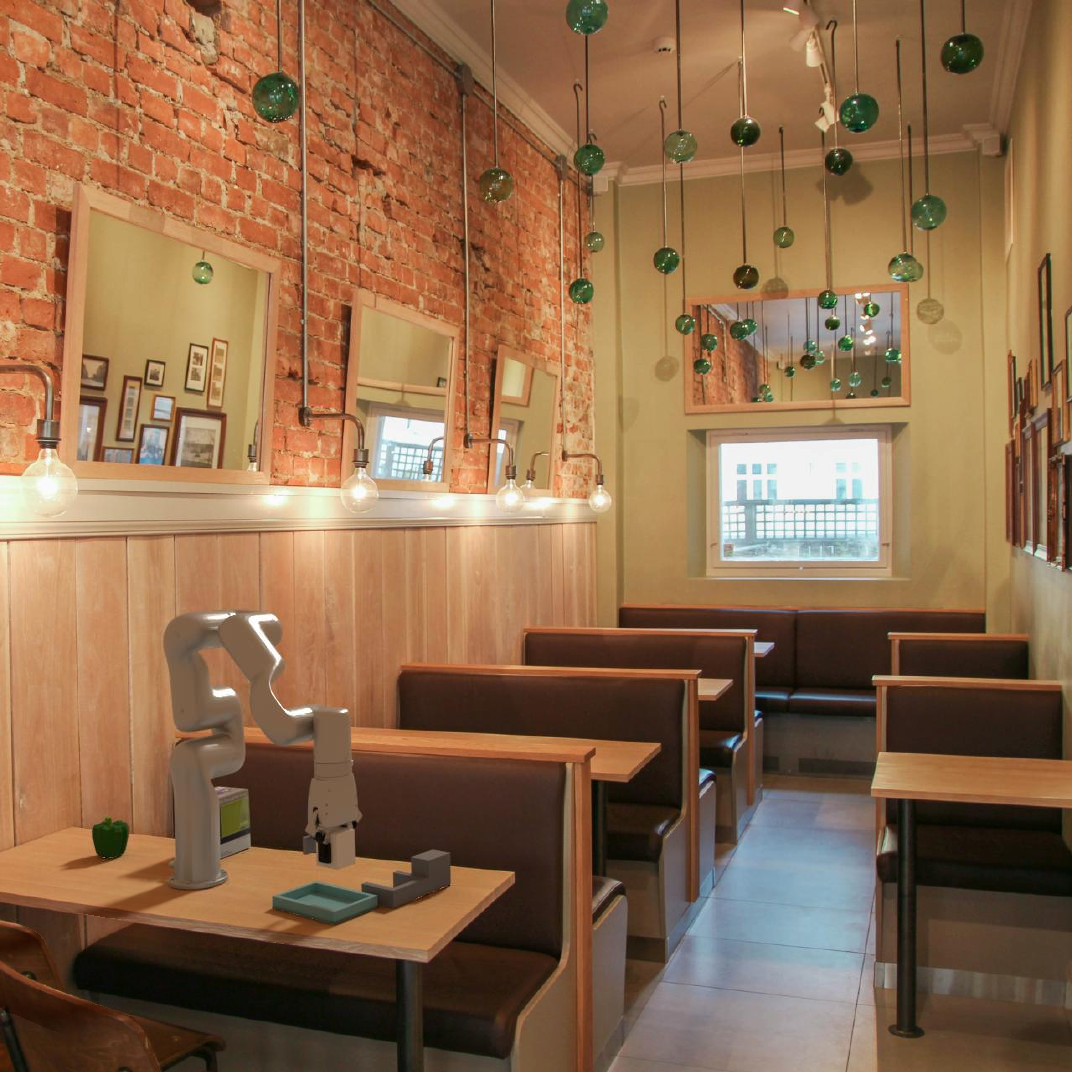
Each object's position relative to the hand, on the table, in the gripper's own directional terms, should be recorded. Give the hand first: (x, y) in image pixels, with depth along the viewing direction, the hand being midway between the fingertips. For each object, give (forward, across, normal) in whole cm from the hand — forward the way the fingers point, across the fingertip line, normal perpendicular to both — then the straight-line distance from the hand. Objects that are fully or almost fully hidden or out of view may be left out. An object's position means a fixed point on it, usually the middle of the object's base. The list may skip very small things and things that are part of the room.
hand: (335, 858), depth 225 cm
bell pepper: (+10, +2, -75) cm, 76 cm away
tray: (+11, 0, -3) cm, 11 cm away
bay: (+11, -16, +4) cm, 20 cm away
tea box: (+10, -13, -55) cm, 58 cm away
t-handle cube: (+1, 0, -2) cm, 2 cm away
